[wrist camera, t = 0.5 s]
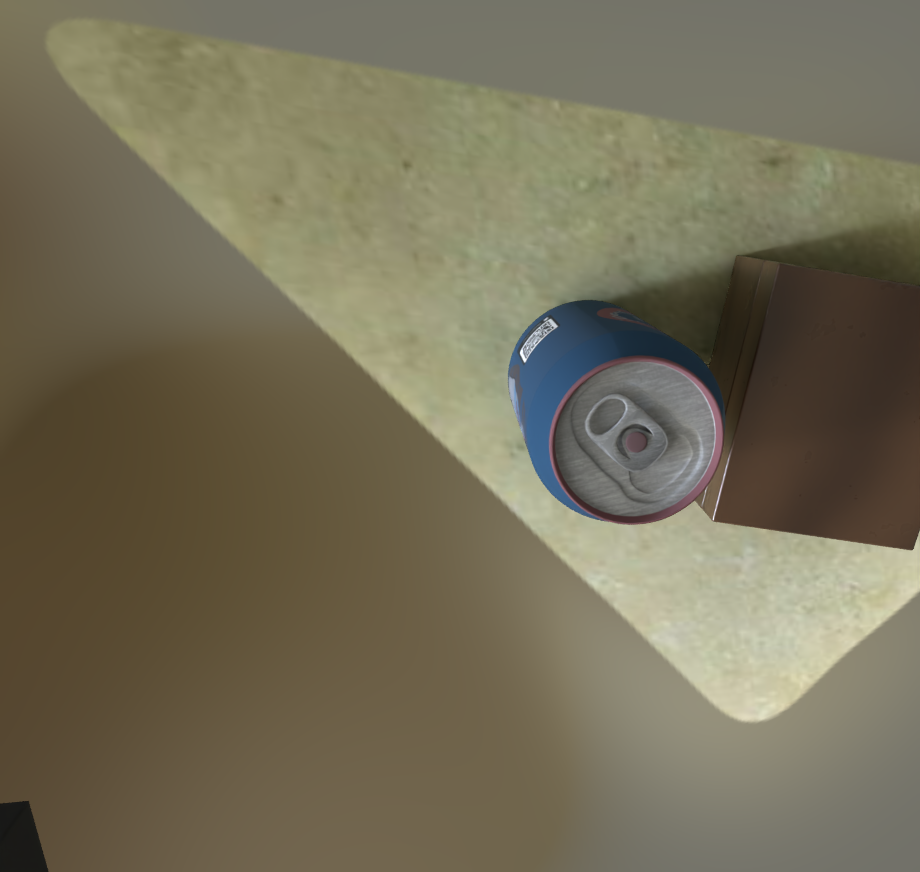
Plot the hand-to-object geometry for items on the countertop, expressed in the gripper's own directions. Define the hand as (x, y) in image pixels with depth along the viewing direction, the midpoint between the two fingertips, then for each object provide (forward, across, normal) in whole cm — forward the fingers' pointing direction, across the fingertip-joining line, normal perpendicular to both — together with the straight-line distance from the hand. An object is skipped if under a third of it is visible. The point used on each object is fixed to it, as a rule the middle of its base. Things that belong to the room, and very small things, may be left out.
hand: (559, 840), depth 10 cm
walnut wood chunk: (+29, +15, -2) cm, 33 cm away
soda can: (+29, +5, 0) cm, 30 cm away
